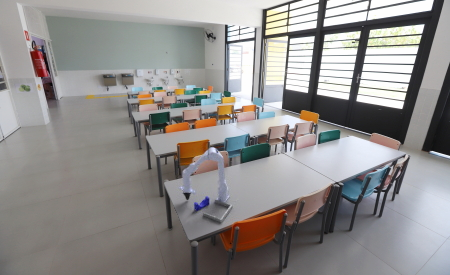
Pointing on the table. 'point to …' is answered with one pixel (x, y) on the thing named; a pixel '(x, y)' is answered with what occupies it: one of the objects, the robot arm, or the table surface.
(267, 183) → the table surface
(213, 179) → the table surface
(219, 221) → the bracket
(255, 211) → the table surface
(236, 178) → the table surface
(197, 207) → the cable clip
